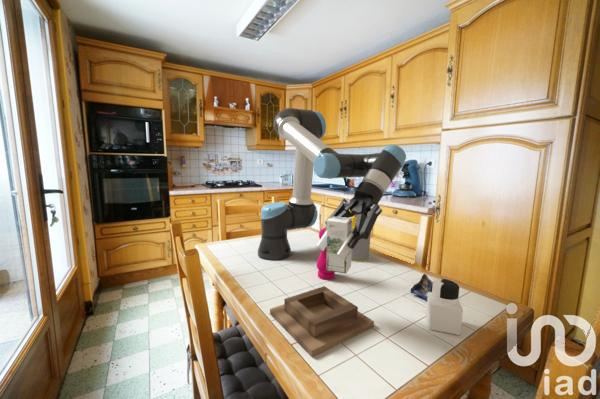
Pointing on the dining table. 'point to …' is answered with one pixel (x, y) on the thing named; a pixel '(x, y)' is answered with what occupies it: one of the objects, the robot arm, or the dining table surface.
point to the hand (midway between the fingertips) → (329, 252)
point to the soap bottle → (360, 246)
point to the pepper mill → (324, 262)
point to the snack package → (422, 287)
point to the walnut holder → (320, 319)
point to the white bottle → (444, 307)
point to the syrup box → (338, 243)
